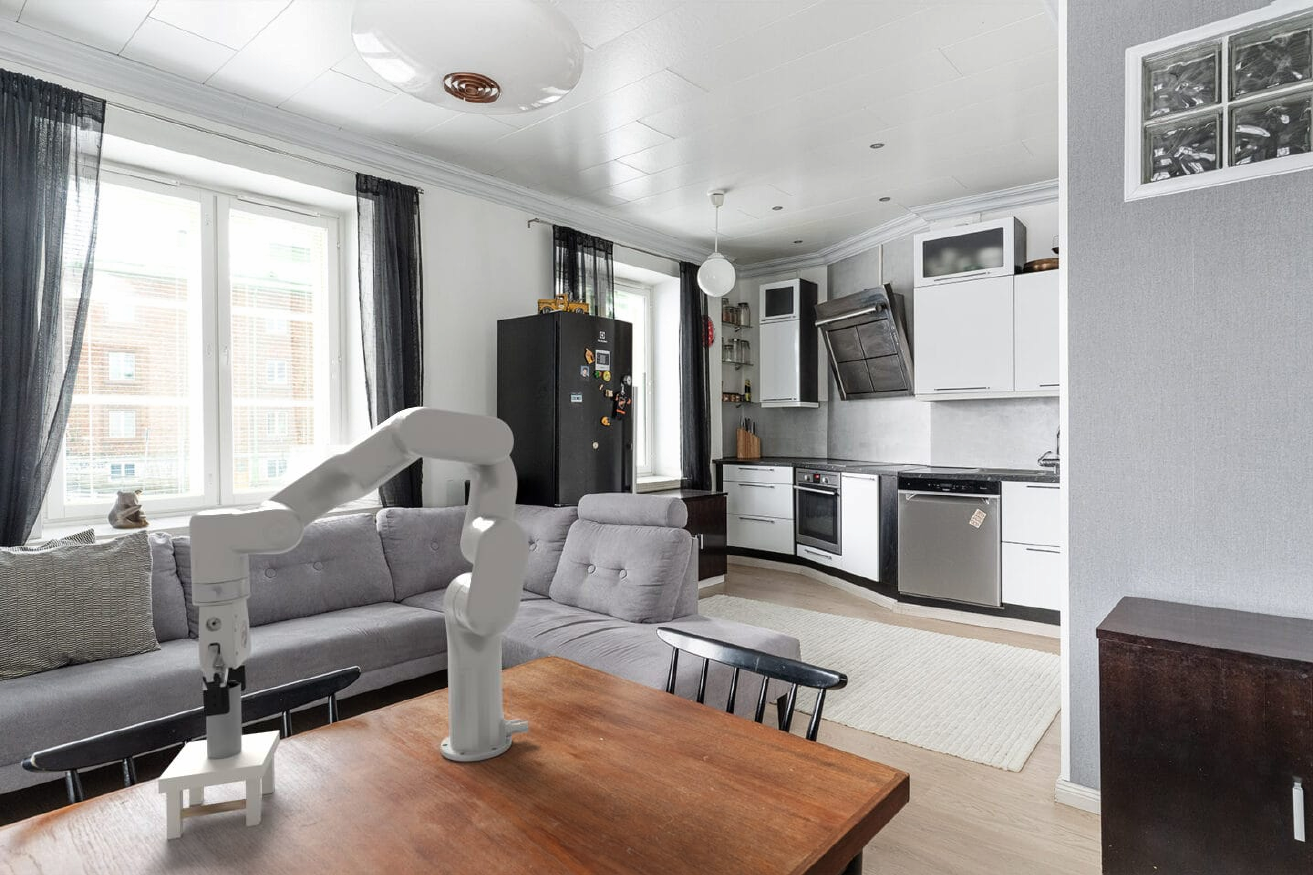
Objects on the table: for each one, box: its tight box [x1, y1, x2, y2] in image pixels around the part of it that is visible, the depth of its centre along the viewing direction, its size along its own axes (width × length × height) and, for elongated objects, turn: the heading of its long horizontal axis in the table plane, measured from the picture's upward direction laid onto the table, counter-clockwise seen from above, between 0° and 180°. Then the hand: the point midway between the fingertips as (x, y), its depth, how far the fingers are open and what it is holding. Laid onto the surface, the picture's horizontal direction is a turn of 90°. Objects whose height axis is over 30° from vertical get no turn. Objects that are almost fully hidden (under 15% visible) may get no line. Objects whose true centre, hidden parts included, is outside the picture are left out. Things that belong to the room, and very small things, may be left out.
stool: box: [157, 730, 281, 841], centre depth 108 cm, size 13×13×9 cm
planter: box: [205, 681, 243, 759], centre depth 108 cm, size 4×4×10 cm
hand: (226, 702), depth 108 cm, fingers open, 9 cm apart
